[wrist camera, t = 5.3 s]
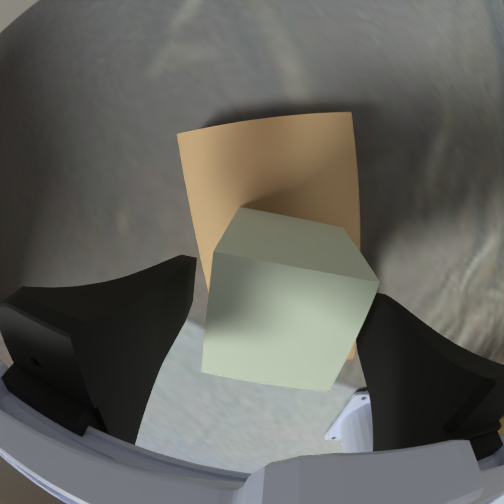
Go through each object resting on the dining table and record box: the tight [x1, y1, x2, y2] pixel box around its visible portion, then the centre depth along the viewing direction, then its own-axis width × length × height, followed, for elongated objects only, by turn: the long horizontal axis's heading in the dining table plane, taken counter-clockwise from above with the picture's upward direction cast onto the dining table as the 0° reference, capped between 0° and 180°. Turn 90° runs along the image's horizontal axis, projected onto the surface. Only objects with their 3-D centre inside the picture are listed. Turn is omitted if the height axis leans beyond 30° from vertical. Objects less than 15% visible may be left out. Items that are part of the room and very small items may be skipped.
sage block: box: [201, 207, 380, 391], centre depth 11 cm, size 5×5×6 cm
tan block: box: [177, 112, 360, 360], centre depth 15 cm, size 8×14×3 cm, turn 8°
